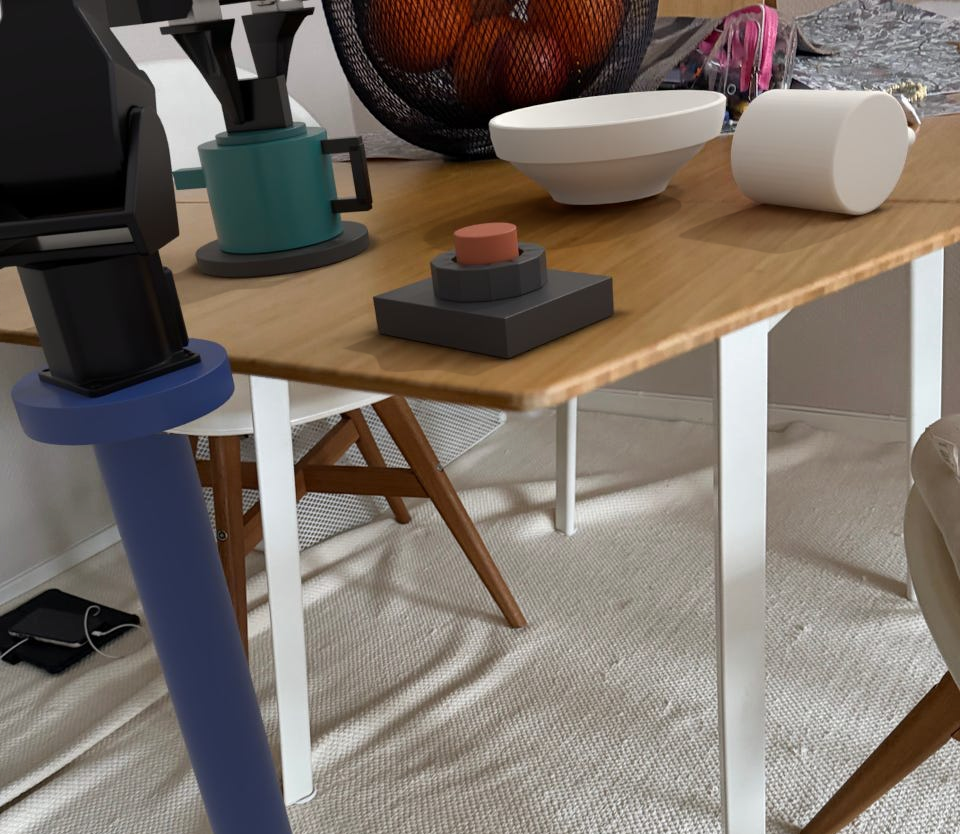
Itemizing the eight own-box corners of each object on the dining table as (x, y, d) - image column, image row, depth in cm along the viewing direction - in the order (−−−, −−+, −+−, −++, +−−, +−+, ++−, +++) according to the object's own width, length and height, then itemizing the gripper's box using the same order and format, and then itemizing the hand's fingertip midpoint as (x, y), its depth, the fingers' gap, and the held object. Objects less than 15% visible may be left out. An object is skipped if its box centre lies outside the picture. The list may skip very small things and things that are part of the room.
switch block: (614, 314, 64) (611, 243, 62) (508, 359, 59) (501, 283, 57) (482, 295, 71) (476, 231, 69) (378, 333, 66) (367, 265, 64)
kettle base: (263, 284, 80) (260, 268, 80) (166, 268, 89) (162, 253, 89) (405, 241, 88) (403, 225, 88) (302, 230, 97) (299, 215, 97)
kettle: (164, 258, 86) (123, 96, 80) (219, 230, 94) (186, 81, 88) (353, 247, 82) (325, 75, 76) (395, 218, 90) (372, 61, 84)
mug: (827, 225, 77) (834, 100, 73) (728, 211, 85) (729, 97, 80) (940, 193, 82) (953, 74, 78) (837, 182, 89) (844, 74, 85)
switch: (531, 256, 63) (529, 224, 62) (488, 271, 61) (484, 238, 60) (487, 251, 65) (484, 220, 64) (444, 265, 63) (440, 234, 62)
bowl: (701, 219, 83) (701, 116, 79) (464, 228, 90) (453, 134, 86) (742, 171, 98) (743, 83, 95) (536, 182, 105) (530, 100, 101)
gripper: (151, -139, 65) (213, 144, 73) (386, -149, 76) (417, 100, 84) (65, -114, 72) (130, 142, 80) (291, -126, 83) (328, 101, 91)
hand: (258, 120), depth 84 cm, fingers closed on kettle, 3 cm apart
